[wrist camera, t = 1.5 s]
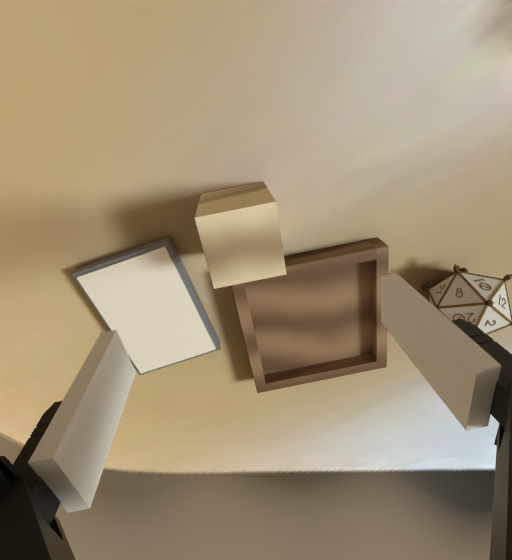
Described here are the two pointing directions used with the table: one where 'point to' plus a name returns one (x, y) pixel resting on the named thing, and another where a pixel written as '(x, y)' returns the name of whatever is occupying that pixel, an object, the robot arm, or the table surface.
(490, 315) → the game die
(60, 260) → the table surface
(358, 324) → the walnut tray
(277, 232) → the beech block
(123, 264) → the white grey flat slab
